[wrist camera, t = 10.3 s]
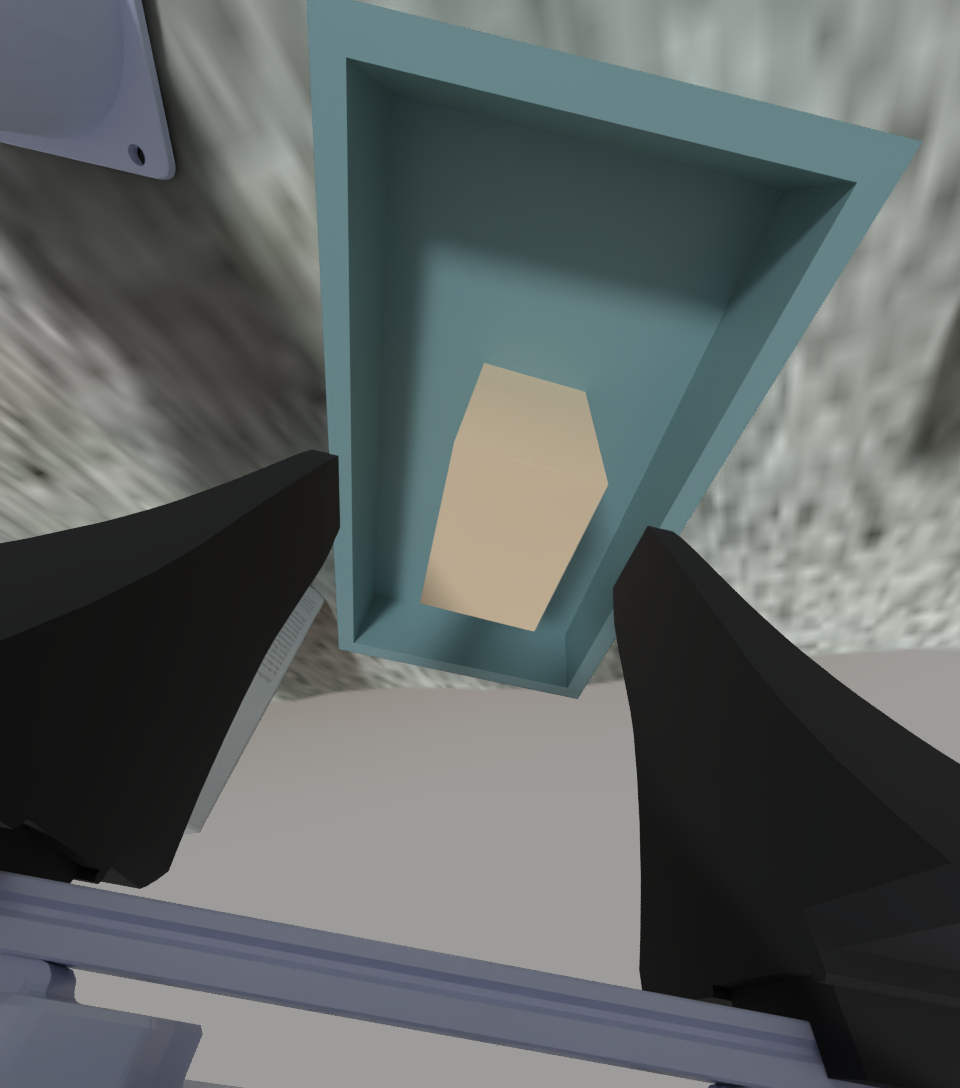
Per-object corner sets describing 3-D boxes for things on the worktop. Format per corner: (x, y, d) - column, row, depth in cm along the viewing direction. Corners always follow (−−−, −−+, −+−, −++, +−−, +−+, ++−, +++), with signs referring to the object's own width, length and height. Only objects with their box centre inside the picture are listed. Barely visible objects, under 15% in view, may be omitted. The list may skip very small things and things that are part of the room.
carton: (453, 493, 20) (419, 603, 14) (484, 363, 16) (453, 442, 10) (536, 515, 20) (534, 631, 14) (585, 391, 16) (608, 484, 11)
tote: (366, 589, 26) (338, 649, 22) (375, 54, 12) (305, -12, 8) (572, 633, 26) (577, 699, 22) (813, 161, 12) (922, 141, 9)
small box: (247, 632, 30) (97, 847, 20) (171, 571, 27) (-55, 790, 17) (330, 600, 27) (201, 837, 17) (254, 527, 24) (38, 764, 13)
